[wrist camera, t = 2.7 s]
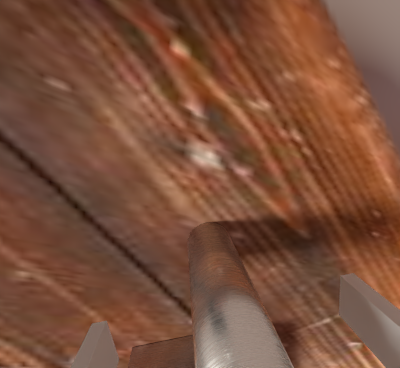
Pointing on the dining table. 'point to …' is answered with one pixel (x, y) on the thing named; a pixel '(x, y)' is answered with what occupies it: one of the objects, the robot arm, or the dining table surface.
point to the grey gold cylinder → (228, 307)
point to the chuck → (164, 354)
